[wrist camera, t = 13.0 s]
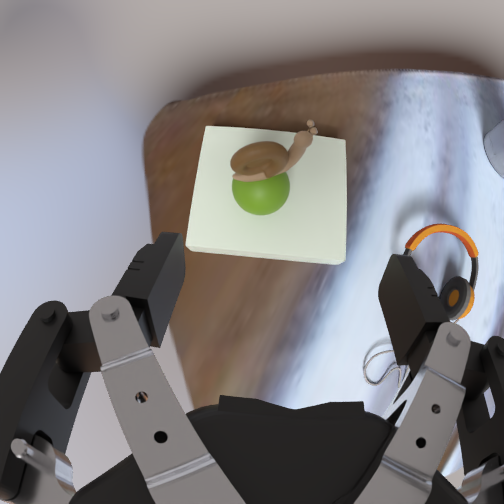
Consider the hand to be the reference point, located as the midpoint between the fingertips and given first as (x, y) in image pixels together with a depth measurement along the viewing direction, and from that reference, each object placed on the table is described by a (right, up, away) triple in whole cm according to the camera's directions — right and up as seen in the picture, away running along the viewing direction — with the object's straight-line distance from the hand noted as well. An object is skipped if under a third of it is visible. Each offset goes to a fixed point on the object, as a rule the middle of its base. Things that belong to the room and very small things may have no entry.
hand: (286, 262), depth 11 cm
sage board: (+1, +7, +23) cm, 24 cm away
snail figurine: (0, +6, +20) cm, 21 cm away
